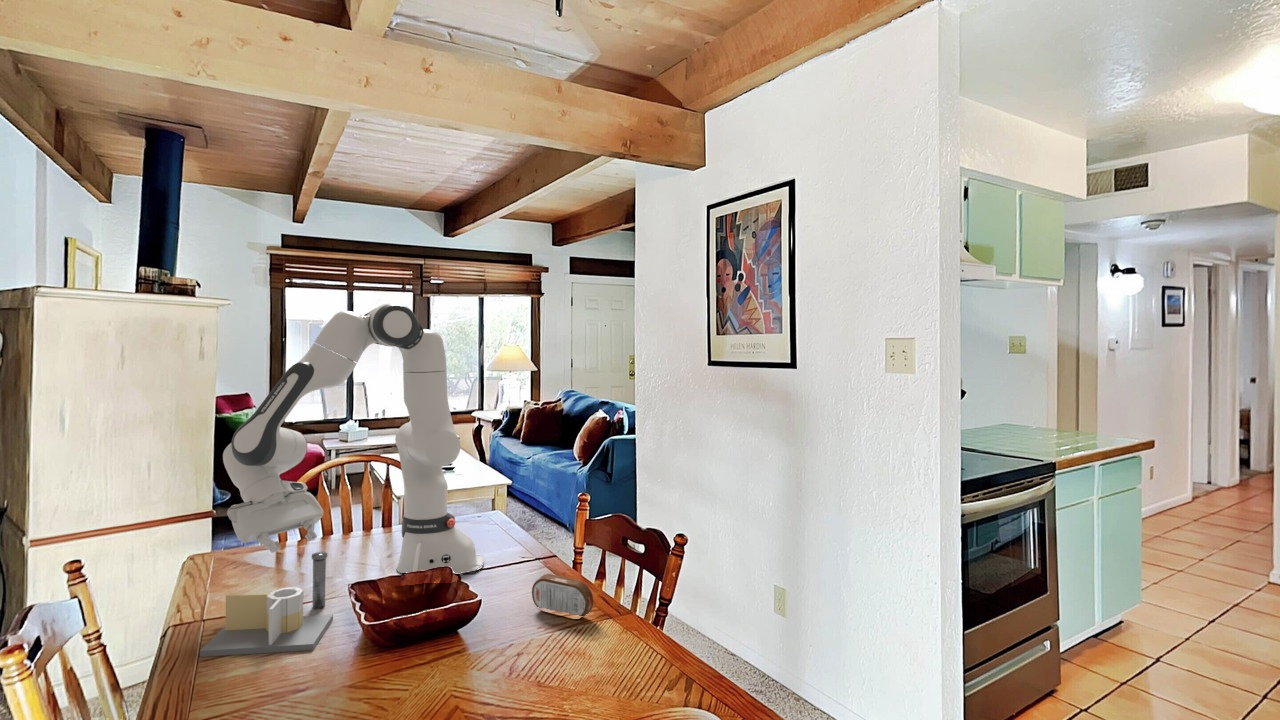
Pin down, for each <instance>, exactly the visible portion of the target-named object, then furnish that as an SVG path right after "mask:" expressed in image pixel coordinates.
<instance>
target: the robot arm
mask: <svg viewBox="0 0 1280 720" xmlns="http://www.w3.org/2000/svg"><path fill="white" fill-rule="evenodd" d="M372 344H376V345H381V346H384V347H394V348H395V347H397V349H398V350H399V351H400V354H401V358H402V360H403V362H402V365H403V366H402V372H403V373H402V374H403V375H402V376H403V378H402V380H403V382H402V383H403V402H404V404H405V407H406V410H407V412H408V415H409V416H408V417H409V420H410V421H408V422H406V423H404V424H402V425H401V426H400V427H399V428H398V429H397V431H396V432H395V433H396V434H395V437H394V438H395V439H394V440H395V445H396V448H397V450H398V455H399V461H400V468H401V473H402V479H403V481H402V482H403V489H404V491H403V492H404V493H403V500H404V501H403V515H402V519H401V537H402V543H401V549H400V555H399V559H398V562H397V566H396V571H397V572H398V573H401V574H402V573H406V572H413V571H421V570H427V569H431V568H436V567H444V566H450V567H452V569H453V571H454V572H455V573H461V572H467V571H475V570H477V569H478V568H480V567H481V566H482V564H483V560H484V557H483V555H481V554H480V553H477V552H476V547H475V543H474V540H473V539H472V538H471V537H470V536H469V535H467V534H466V533H464V532H463V531H461V530H460V529H458V528H457V527H456V526H455V525H456V519H455V518H456V517H455V513H452V514H451V513H449V512H448V482H447V480H446V477H445V475H444V471H443V467H446V466H450V465H451V464H452V463H453V462H455V461H456V460H457V458H458V457H459V454H460V451H461V441H460V438H459V436H458V435H457V433H456V430H455V426H454V423H453V419H452V415H451V409H450V405H449V399H448V398H449V397H448V377H447V373H448V371H447V360H446V359H447V357H446V350H445V346H444V345H445V344H444V341H443V338H442V336H441V334H439V333H438V332H436V331H434V330H431V329H426V328H424V327H423V326H422V324H421V323H420V321H419V319H418V318H417V316H416V314H415V313H414V312H413V310H412V309H410V307H408V306H407V305H404V304H402V303H396V302H393V303H391V302H389V303H388V302H387V303H384V304H381V305H379V306H377V307H375V308H374V309H372V310H370V311H369V312H367V313H365V314H364V315H361V314H359V313H357V312H354V311H350V310H341V311H338V312H336V313H335V314H334V315H333V316H332V317H331V319H330V320H329V321H328V322H327V323H326V324H325V326H324V327H323V328H322V329H321V331H320V333H319V334H318V335H317V337H316V338H315V340H314V343H313V344H312V345H311V347H310V348H309V349H308V350H307V352H306V353H305V354H304V356H303V357H302V358H301V359H300V360H299V361H297V362H296V363H294V364H292V365H291V366H290V368H288V369H287V370H286V371H285V373H283V375H282V376H281V377H280V379H279V380H277V381H278V382H277V383H276V384H275V385H274V387H273V388H272V389H271V390H270V392H269V393H268V394H267V396H266V397H265V399H263V401H262V403H261V404H260V405H259V406H258V408H257V409H256V411H254V412H253V414H252V415H251V416H250V417H249V418H248V419H246V421H244V422H243V423H242V424H240V426H238V428H237V429H236V430H235V432H234V434H233V436H232V438H231V442H230V443H229V444H228V445H227V446H226V447H225V449H224V450H223V453H222V461H223V462H222V463H223V465H224V468H225V470H226V473H227V474H228V476H229V478H230V480H231V482H232V483H233V485H234V486H235V487H236V488H238V489H239V493H240V497H241V500H243V502H241V503H237V504H232V505H230V507H229V508H228V509H227V511H226V514H227V515H226V516H228V519H229V520H230V521H231V524H232V527H233V530H234V533H235V535H236V537H237V539H238V540H239V541H240V542H242V543H244V544H246V543H249V542H250V543H251V542H253V541H256V540H257V541H258V543H259V544H260V545H263V546H264V547H266V548H268V550H269V552H270V553H271V554H273V553H277V552H278V551H279V550H281V548H282V547H281V544H280V542H279V541H278V540H276V541H274V540H273V539H271V538H270V537H271V536H274V535H275V536H276V535H279V534H282V533H286V532H289V531H292V530H296V529H301V528H303V529H304V530H307V533H306V535H305V536H304V538H305V539H306V540H307V542H312V541H314V540H316V539H317V537H318V535H317V533H316V532H315V524H317V523H318V522H319V521H320V520H321V519H322V517H323V516H324V509H323V508H322V506H321V504H320V503H319V501H318V499H317V498H316V497H315V496H314V495H313V494H312V493H311V492H310V491H307V490H308V486H307V484H306V483H305V482H299V481H297V482H296V481H289V480H284V479H281V477H280V475H282V474H284V473H287V472H288V471H290V470H291V469H293V468H295V467H296V466H298V465H299V464H301V462H302V461H304V459H305V457H306V456H307V452H308V442H307V439H306V437H305V435H304V434H303V433H302V432H299V431H297V430H293V429H291V428H286V427H281V426H282V425H283V424H284V422H285V420H286V419H287V417H289V415H290V413H291V412H292V411H293V409H294V408H295V407H296V406H297V404H298V402H300V400H301V399H302V398H303V397H304V396H306V395H307V394H310V393H312V392H315V391H318V390H319V391H320V390H323V389H331V388H335V387H337V386H340V385H342V384H344V382H345V381H346V380H348V378H349V377H350V376H351V374H352V373H353V372H354V370H355V368H356V366H357V364H358V362H359V360H360V358H361V356H362V355H363V353H364V352H365V351H366V349H367V348H368V347H369V346H371V345H372ZM477 556H481V557H477ZM476 566H478V567H476Z"/></svg>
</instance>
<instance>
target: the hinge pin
mask: <svg viewBox="0 0 1280 720" xmlns="http://www.w3.org/2000/svg"><path fill="white" fill-rule="evenodd" d="M327 558H328V552H326V551H317V552H314V553H312V554H311V560H312V605H311V606H312V609H315V610H319V609H324V608H325V607H326V579H327V578H326V575H327V574H326V572H327V570H326V569H327V566H326V565H327Z"/></svg>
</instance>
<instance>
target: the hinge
mask: <svg viewBox="0 0 1280 720" xmlns="http://www.w3.org/2000/svg"><path fill="white" fill-rule="evenodd" d="M333 620H334V614H322V615H321V614H318V615H316V614H315V615H304V590H303V589H302V588H300V587H297V586H296V587H292V586H291V587H282V588H278V589H274V590H272V591H270V592H268V593H249V594H247V593H246V594H226V596H225V625H224V626H223V627H222V628H221V629H220V630H219V631H218V632H217V633H216V634H215V635H214V636H213V637H212V638H211V639H210V640H209V641H208V642H207V643H206V644H205V645H204V646H203V647H202V648H201V649H200V650H199V658H204V657H205V658H207V657H223V656H225V657H226V656H237V655H240V656H241V655H253V654H255V655H256V654H270V653H272V654H273V653H286V652H287V653H288V652H303V651H314V649H315V648H316V647H317V645H318V643H319V642H320V640H321V639H322V638H323V636H324V634H325V633H326V631H327V630H328V628H329V626H330V625H331V624H332V622H333Z"/></svg>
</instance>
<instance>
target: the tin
mask: <svg viewBox="0 0 1280 720" xmlns="http://www.w3.org/2000/svg"><path fill="white" fill-rule="evenodd" d="M531 588H532V589H531V596H532V600H533V603H534V605H535V607H536V608H537V607H539V608H546V609H550V610H555V611H560V612H566V613H569V614H575V615H579V616H584V617H585V616H586V614H587V615H588V614H590V613H591V611H592V609H593V607H594V595H593V593H592V590H591V588H590V587H589V586H588V585H587V584H586V583H585V582H583V581H582V580H579V579H574V578H569V577H565V576H559V575H556V574H551V573H547V574H543V575H542V576H540V577H539V578H538V579H537V580H535V582H534V583H533V585H532V587H531ZM589 612H590V613H589Z"/></svg>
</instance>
